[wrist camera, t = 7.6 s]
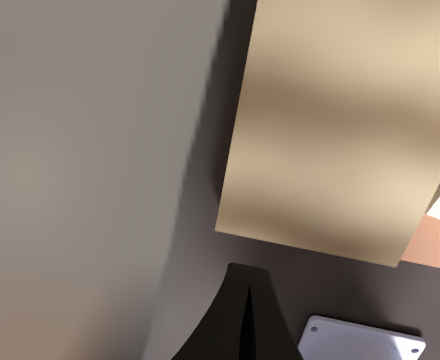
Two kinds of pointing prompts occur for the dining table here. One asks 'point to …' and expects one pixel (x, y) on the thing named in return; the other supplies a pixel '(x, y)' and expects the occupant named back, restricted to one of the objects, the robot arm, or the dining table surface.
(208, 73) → the dining table surface
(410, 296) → the dining table surface
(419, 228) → the mat
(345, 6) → the board
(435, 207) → the card
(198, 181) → the dining table surface
